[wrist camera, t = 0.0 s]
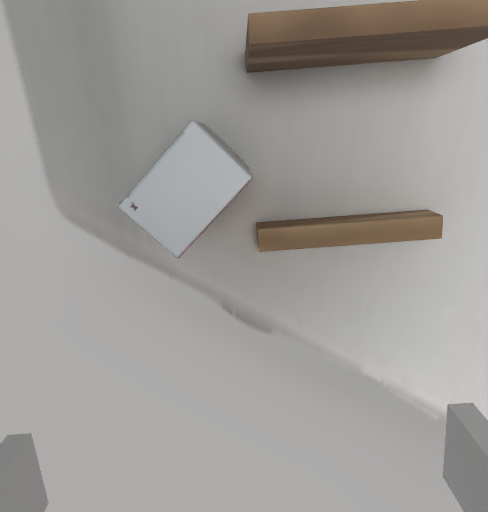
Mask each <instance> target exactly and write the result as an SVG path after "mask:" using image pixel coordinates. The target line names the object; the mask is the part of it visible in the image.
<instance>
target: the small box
mask: <svg viewBox="0 0 488 512" xmlns="http://www.w3.org/2000/svg"><path fill="white" fill-rule="evenodd" d="M251 179H252V174H251V171H250V169H249V167H248V165H247V164H246V163H245V162H244V161H243V160H242V159H241V158H240V157H239V156H238V155H237V154H236V153H235V152H234V151H233V150H232V149H231V148H230V147H229V146H227V145H226V144H225V143H224V142H223V141H222V140H221V139H220V138H219V137H218V136H217V135H216V134H215V133H214V132H213V131H211V130H210V129H209V128H208V127H207V126H206V125H205V124H203V123H200V122H198V121H196V120H191V121H190V122H189V123H188V125H187V126H186V127H185V129H184V130H183V131H182V132H181V134H180V135H179V136H178V137H177V138H176V140H175V141H174V142H173V143H172V144H171V146H170V147H169V148H168V149H167V150H166V151H165V153H164V154H163V155H162V156H161V157H160V158H159V160H158V161H157V162H156V163H155V164H154V165H153V167H152V168H151V169H150V170H149V171H148V172H147V173H146V175H145V176H144V177H143V178H142V179H141V180H140V181H139V183H138V184H137V185H136V186H135V187H134V188H133V189H132V190H131V191H130V192H129V193H128V195H127V196H126V197H125V198H124V199H123V200H122V201H121V202H120V203H119V204H118V205H117V206H118V208H119V209H121V210H122V211H123V212H124V213H125V214H126V215H128V216H129V217H130V218H131V219H132V220H134V221H135V222H136V223H137V224H138V225H139V226H141V227H142V228H143V229H144V230H145V231H146V232H148V233H149V234H150V235H151V236H152V237H153V238H155V239H156V240H157V241H158V242H159V243H160V244H162V245H163V246H164V247H165V248H166V249H167V250H169V251H170V252H171V253H172V254H173V255H174V256H175V257H177V258H179V257H180V256H181V255H182V254H183V253H184V252H185V251H186V250H187V249H188V248H189V246H190V245H191V244H192V243H193V242H194V241H195V240H196V239H197V238H198V237H199V236H200V235H201V234H202V232H203V231H204V230H205V229H206V228H207V227H208V226H209V225H210V224H211V223H212V222H213V221H214V219H215V218H216V217H217V216H218V215H219V214H220V213H221V212H222V211H223V210H224V209H225V208H226V207H227V205H228V204H229V203H230V202H231V201H232V200H233V199H234V198H235V197H236V196H237V195H238V194H239V192H240V191H241V190H242V189H243V188H244V187H245V186H246V185H247V184H248V183H249V182H250V181H251Z"/></svg>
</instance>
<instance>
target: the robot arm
mask: <svg viewBox="0 0 488 512" xmlns="http://www.w3.org/2000/svg"><path fill="white" fill-rule="evenodd" d="M443 477H444V479H445V481H446V482H447V484H448V486H449V488H450V489H451V491H452V493H453V494H454V496H455V498H456V499H457V501H458V503H459V504H460V506H461V508H462V509H463V511H464V512H488V420H487V419H486V418H485V417H484V416H483V414H482V413H481V412H480V411H479V410H478V409H477V408H476V406H475V405H474V404H473V403H461V404H448V409H447V424H446V438H445V454H444V468H443ZM47 505H48V499H47V495H46V491H45V487H44V483H43V480H42V475H41V471H40V467H39V463H38V459H37V455H36V451H35V447H34V443H33V439H32V435H31V433H30V434H16V435H7V436H6V437H5V439H4V440H3V441H2V442H1V444H0V512H44V511H45V509H46V507H47Z"/></svg>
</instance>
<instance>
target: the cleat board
mask: <svg viewBox="0 0 488 512" xmlns="http://www.w3.org/2000/svg"><path fill="white" fill-rule="evenodd" d="M486 38H488V0H418V1H406V2H393V3H380V4H367V5H354V6H341V7H329V8H316V9H303V10H290V11H277V12H265V13H252V14H248V24H247V37H246V50H245V55H246V70H247V72H260V71H273V70H286V69H299V68H312V67H325V66H338V65H351V64H364V63H377V62H390V61H403V60H416V59H429V58H437V57H439V56H442V55H445V54H447V53H450V52H452V51H455V50H458V49H460V48H463V47H465V46H468V45H471V44H473V43H476V42H479V41H481V40H484V39H486ZM442 225H443V216H442V215H440V214H437V213H435V212H432V211H430V210H420V211H407V212H393V213H379V214H366V215H352V216H339V217H325V218H311V219H298V220H284V221H271V222H257V237H258V247H259V252H262V251H276V250H289V249H303V248H317V247H331V246H344V245H358V244H372V243H385V242H399V241H413V240H426V239H440V238H442Z"/></svg>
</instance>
